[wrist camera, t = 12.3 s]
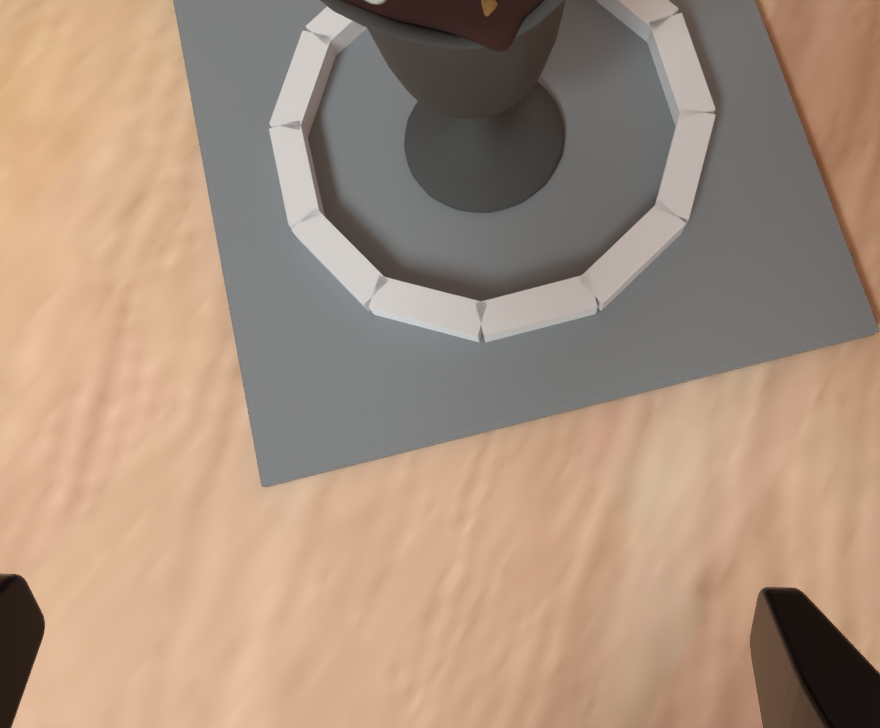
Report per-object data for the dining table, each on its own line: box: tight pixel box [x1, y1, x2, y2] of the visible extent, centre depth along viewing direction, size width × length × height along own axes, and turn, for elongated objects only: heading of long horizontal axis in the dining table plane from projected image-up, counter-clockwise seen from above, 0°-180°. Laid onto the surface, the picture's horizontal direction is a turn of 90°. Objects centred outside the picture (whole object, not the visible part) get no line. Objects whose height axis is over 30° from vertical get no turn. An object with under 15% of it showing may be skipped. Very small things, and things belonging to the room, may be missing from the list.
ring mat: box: [173, 0, 879, 487], centre depth 25 cm, size 18×18×1 cm
